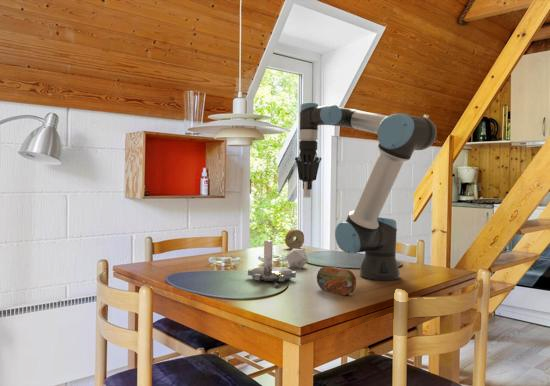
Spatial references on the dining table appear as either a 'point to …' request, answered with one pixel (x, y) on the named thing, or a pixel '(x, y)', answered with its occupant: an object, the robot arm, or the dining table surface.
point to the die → (297, 258)
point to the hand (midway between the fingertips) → (307, 197)
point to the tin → (336, 280)
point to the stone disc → (297, 242)
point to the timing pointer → (276, 284)
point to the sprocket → (270, 267)
